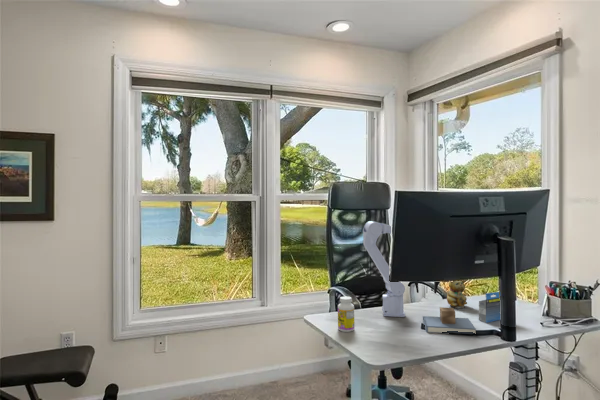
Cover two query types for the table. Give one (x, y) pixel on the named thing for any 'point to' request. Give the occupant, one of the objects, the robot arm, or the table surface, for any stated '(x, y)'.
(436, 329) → the book
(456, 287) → the decorative figurine
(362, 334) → the table surface
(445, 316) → the walnut block
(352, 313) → the supplement bottle
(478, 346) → the table surface
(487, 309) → the label tape box
